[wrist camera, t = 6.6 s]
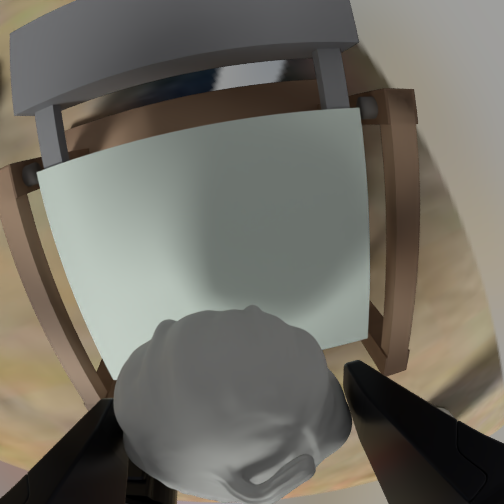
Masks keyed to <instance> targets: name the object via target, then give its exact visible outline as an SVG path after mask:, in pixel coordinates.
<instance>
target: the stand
mask: <svg viewBox="0 0 504 504" xmlns="http://www.w3.org/2000/svg"><path fill="white" fill-rule="evenodd" d="M348 98H349V105H350V108H359V109H360V116H361V124H362V125H380V130H381V140H382V151H383V164H384V179H385V199H386V282H385V302H384V317H383V316H382V315H381V314H380V312H379V311H378V310H377V309H376V307H375V306H374V305H373V304H372V302H371V301H370V300H369V322H368V338H367V339H363V340H361V342H362V343H363V345H364V346H365V348H366V350H367V351H368V353H369V354H370V356H371V358H372V359H373V361H374V363H375V364H376V366H377V368H378V369H379V371H380V372H381V374H383V375H385V376H389V375H392V374H395V373H398V372H401V371H404V370H406V368H407V363H408V357H409V352H410V350H409V349H408V347H409V341H410V334H411V327H412V320H413V312H414V303H415V294H416V283H417V271H418V256H419V233H420V181H419V158H418V143H417V131H416V124H418V118H417V109H416V101H415V94H414V89H394V88H383V89H378V90H373V91H369V92H364V93H360V94H356V95H351V96H348ZM314 110H321V104H320V98H319V91H318V85H317V79H311V80H297V81H285V82H274V83H266V84H257V85H249V86H242V87H235V88H229V89H222V90H216V91H210V92H205V93H200V94H194V95H189V96H185V97H180V98H175V99H171V100H167V101H162V102H158V103H154V104H150V105H146V106H142V107H139V108H135V109H131V110H128V111H124V112H121V113H117V114H114V115H111V116H107V117H104V118H101V119H98V120H95V121H92V122H89V123H86V124H83V125H80V126H77V127H74V128H72V129H69V130H66V131H65V137H66V142H67V148H68V154H69V159H70V160H73V159H76V158H79V157H82V156H85V155H88V154H91V153H95V152H98V151H101V150H105V149H108V148H112V147H115V146H119V145H122V144H126V143H130V142H133V141H137V140H141V139H145V138H149V137H153V136H157V135H162V134H166V133H170V132H175V131H180V130H184V129H189V128H194V127H199V126H204V125H210V124H215V123H221V122H227V121H233V120H239V119H246V118H252V117H260V116H267V115H275V114H284V113H293V112H303V111H314ZM42 170H44V166H43V161H42V157H39V158H34V159H30V160H25V161H21V162H17V163H13V164H9V165H7V166H5V167H3V168H0V218H1V222H2V225H3V229H4V232H5V235H6V238H7V242H8V245H9V248H10V251H11V254H12V256H13V259H14V262H15V265H16V268H17V270H18V273H19V275H20V278H21V281H22V283H23V286H24V288H25V291H26V293H27V295H28V298H29V300H30V302H31V305H32V307H33V309H34V311H35V314H36V316H37V318H38V320H39V322H40V324H41V326H42V328H43V330H44V332H45V334H46V336H47V338H48V340H49V342H50V344H51V346H52V348H53V350H54V352H55V354H56V356H57V357H58V359H59V361H60V363H61V365H62V366H63V368H64V370H65V372H66V373H67V375H68V377H69V378H70V380H71V382H72V383H73V385H74V387H75V388H76V390H77V392H78V393H79V395H80V396H81V398H82V399H83V401H84V405H85V407H86V408H87V410H88V411H89V410H90V409H91V408H92V407H93V406H94V405H95V404H96V403H97V402H98V401H99V400H101V399H103V398H114V390H115V385H116V381H117V380H113V378H112V376H111V374H110V372H109V370H108V369H107V367H106V365H105V363H104V361H103V359H102V360H101V362H100V365H99V367H98V370H97V372H96V371H95V369H94V367H93V365H92V363H91V361H90V359H89V357H88V355H87V353H86V351H85V349H84V347H83V345H82V343H81V341H80V339H79V337H78V335H77V333H76V331H75V329H74V327H73V324H72V322H71V320H70V318H69V315H68V313H67V311H66V309H65V306H64V304H63V301H62V299H61V297H60V294H59V292H58V289H57V287H56V284H55V281H54V279H53V276H52V273H51V271H50V268H49V265H48V262H47V260H46V257H45V254H44V251H43V248H42V245H41V242H40V238H39V235H38V232H37V229H36V225H35V222H34V218H33V215H32V211H31V208H30V204H29V200H28V196H27V193H30V192H32V191H35V190H37V189H40V186H39V181H38V177H37V172H39V171H42Z"/></svg>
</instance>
